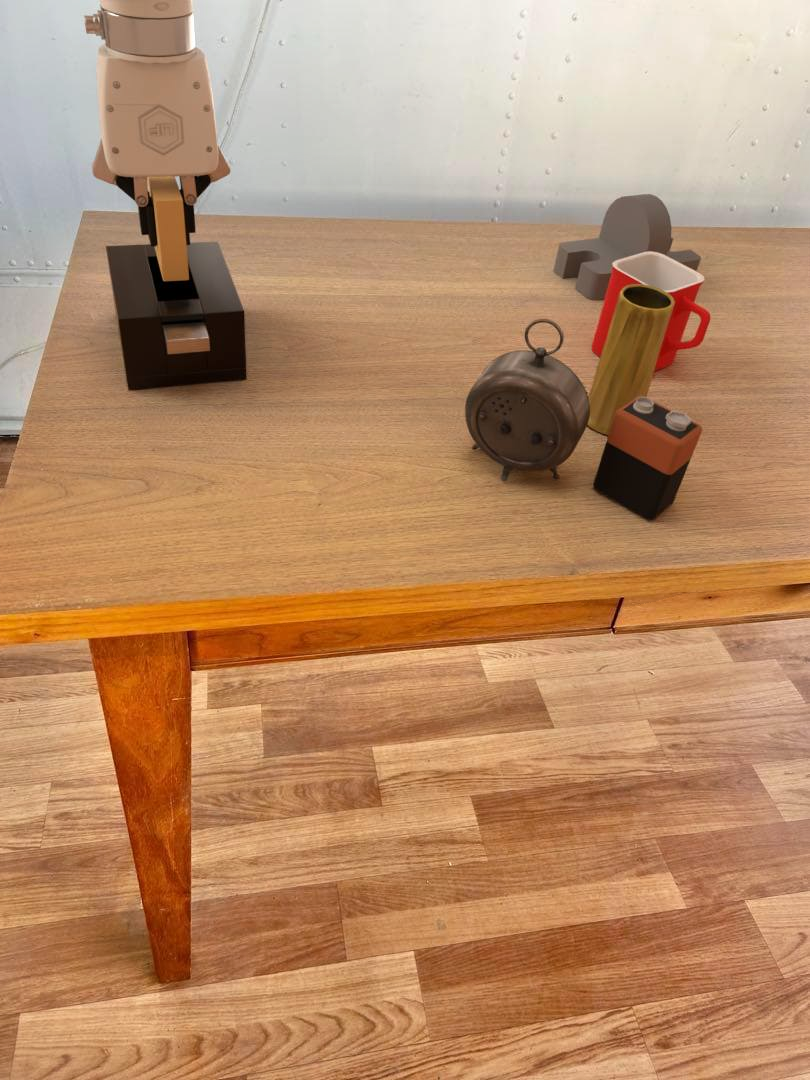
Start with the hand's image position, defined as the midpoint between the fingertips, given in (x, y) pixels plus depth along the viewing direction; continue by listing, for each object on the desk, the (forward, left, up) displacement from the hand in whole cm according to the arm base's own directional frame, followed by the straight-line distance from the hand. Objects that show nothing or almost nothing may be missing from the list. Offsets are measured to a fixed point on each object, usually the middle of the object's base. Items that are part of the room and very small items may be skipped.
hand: (168, 238), depth 86 cm
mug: (+52, -12, -12) cm, 55 cm away
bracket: (+61, +9, -12) cm, 63 cm away
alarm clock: (+28, -28, -12) cm, 41 cm away
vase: (+42, -22, -12) cm, 49 cm away
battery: (+38, -34, -12) cm, 52 cm away
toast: (0, 0, -3) cm, 3 cm away
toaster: (0, 0, -12) cm, 12 cm away
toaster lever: (0, -10, -6) cm, 12 cm away
